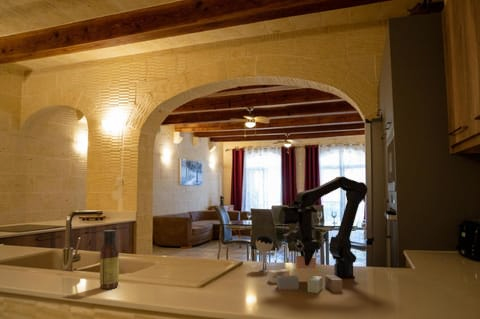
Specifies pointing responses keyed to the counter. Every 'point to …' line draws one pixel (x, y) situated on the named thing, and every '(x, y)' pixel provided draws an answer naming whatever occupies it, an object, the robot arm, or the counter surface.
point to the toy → (264, 247)
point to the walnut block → (333, 283)
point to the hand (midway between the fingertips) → (305, 264)
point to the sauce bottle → (109, 261)
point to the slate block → (287, 282)
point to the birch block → (277, 274)
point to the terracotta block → (301, 262)
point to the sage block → (314, 284)
